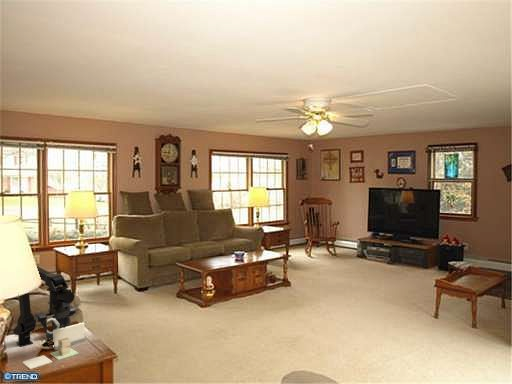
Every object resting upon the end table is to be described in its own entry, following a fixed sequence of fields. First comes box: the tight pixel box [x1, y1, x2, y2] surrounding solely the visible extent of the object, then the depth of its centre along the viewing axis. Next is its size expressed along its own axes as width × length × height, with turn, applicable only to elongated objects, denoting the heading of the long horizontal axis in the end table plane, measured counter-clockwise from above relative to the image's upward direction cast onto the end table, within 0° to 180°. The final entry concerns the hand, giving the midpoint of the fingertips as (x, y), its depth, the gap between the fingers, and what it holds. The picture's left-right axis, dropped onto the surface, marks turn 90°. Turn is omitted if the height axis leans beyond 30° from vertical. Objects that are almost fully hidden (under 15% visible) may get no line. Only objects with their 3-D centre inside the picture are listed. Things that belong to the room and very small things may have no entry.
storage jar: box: [51, 302, 71, 331], centre depth 243 cm, size 10×10×15 cm
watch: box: [45, 317, 60, 340], centre depth 231 cm, size 6×8×11 cm
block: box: [57, 337, 71, 356], centre depth 211 cm, size 5×4×7 cm
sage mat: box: [49, 347, 79, 361], centre depth 211 cm, size 10×10×1 cm
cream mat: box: [21, 354, 53, 370], centre depth 202 cm, size 10×10×1 cm
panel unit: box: [53, 321, 87, 351], centre depth 226 cm, size 12×16×10 cm
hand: (55, 330), depth 213 cm, fingers open, 9 cm apart
